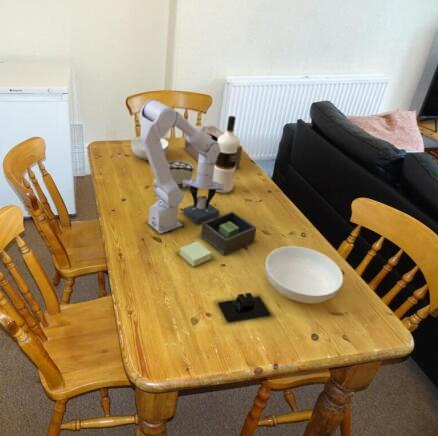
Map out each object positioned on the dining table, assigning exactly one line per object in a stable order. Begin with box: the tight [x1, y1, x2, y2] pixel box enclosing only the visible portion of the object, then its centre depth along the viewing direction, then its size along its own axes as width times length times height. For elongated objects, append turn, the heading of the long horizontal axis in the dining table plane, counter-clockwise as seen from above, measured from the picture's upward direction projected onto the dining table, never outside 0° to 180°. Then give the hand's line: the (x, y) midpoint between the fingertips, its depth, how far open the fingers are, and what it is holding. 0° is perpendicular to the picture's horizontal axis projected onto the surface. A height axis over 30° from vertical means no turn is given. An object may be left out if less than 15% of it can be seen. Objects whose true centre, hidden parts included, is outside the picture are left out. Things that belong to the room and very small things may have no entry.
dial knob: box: [196, 195, 208, 209], centre depth 148 cm, size 4×4×4 cm
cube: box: [219, 221, 239, 239], centre depth 135 cm, size 4×4×4 cm
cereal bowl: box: [130, 135, 169, 161], centre depth 186 cm, size 17×17×7 cm
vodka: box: [213, 115, 241, 194], centre depth 158 cm, size 9×9×30 cm
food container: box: [167, 159, 195, 191], centre depth 164 cm, size 12×6×10 cm, turn 84°
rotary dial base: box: [182, 203, 220, 225], centre depth 149 cm, size 10×9×3 cm
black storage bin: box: [200, 211, 257, 256], centre depth 136 cm, size 13×11×6 cm
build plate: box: [217, 292, 271, 324], centre depth 110 cm, size 12×7×5 cm, turn 104°
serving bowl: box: [265, 245, 344, 304], centre depth 117 cm, size 21×21×7 cm
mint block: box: [179, 241, 212, 267], centre depth 128 cm, size 7×7×2 cm
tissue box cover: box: [184, 125, 243, 169], centre depth 187 cm, size 26×14×10 cm, turn 21°
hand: (201, 205), depth 149 cm, fingers closed on dial knob, 3 cm apart
